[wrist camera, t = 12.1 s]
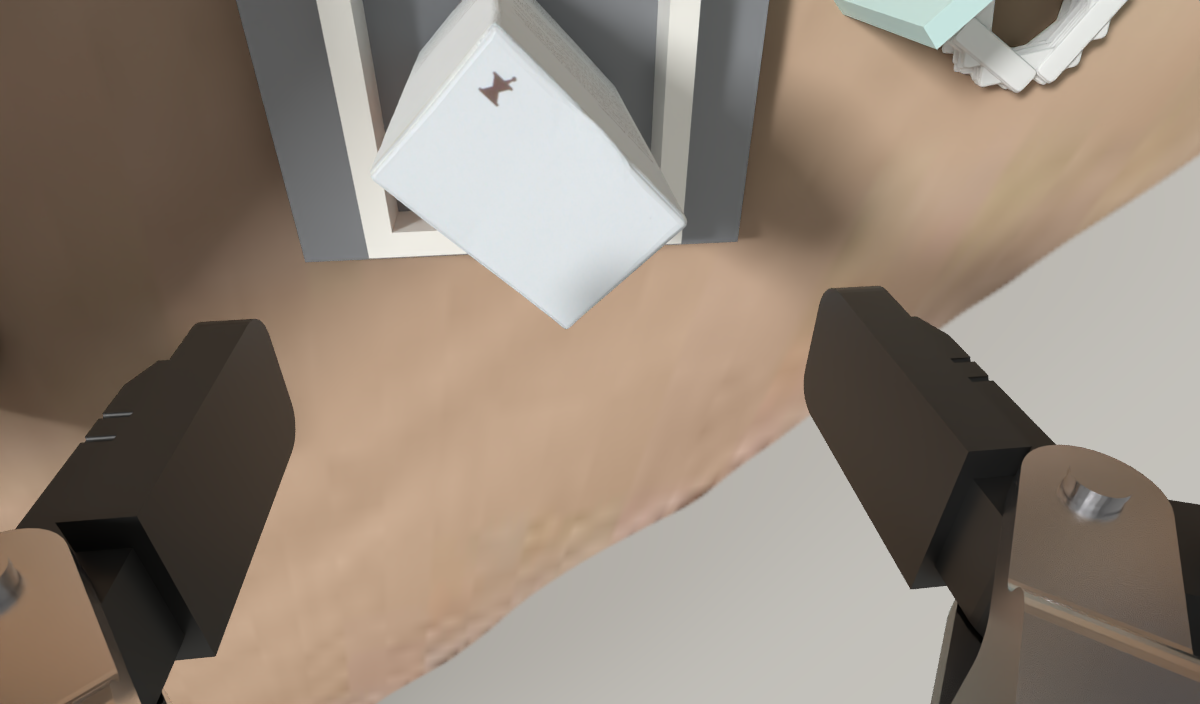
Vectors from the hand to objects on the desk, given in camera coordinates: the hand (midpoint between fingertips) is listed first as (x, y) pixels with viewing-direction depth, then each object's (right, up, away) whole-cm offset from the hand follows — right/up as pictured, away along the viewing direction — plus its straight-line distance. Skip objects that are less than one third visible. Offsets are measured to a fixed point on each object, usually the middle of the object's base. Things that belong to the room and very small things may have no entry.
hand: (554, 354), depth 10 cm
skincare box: (-2, +10, +15) cm, 18 cm away
